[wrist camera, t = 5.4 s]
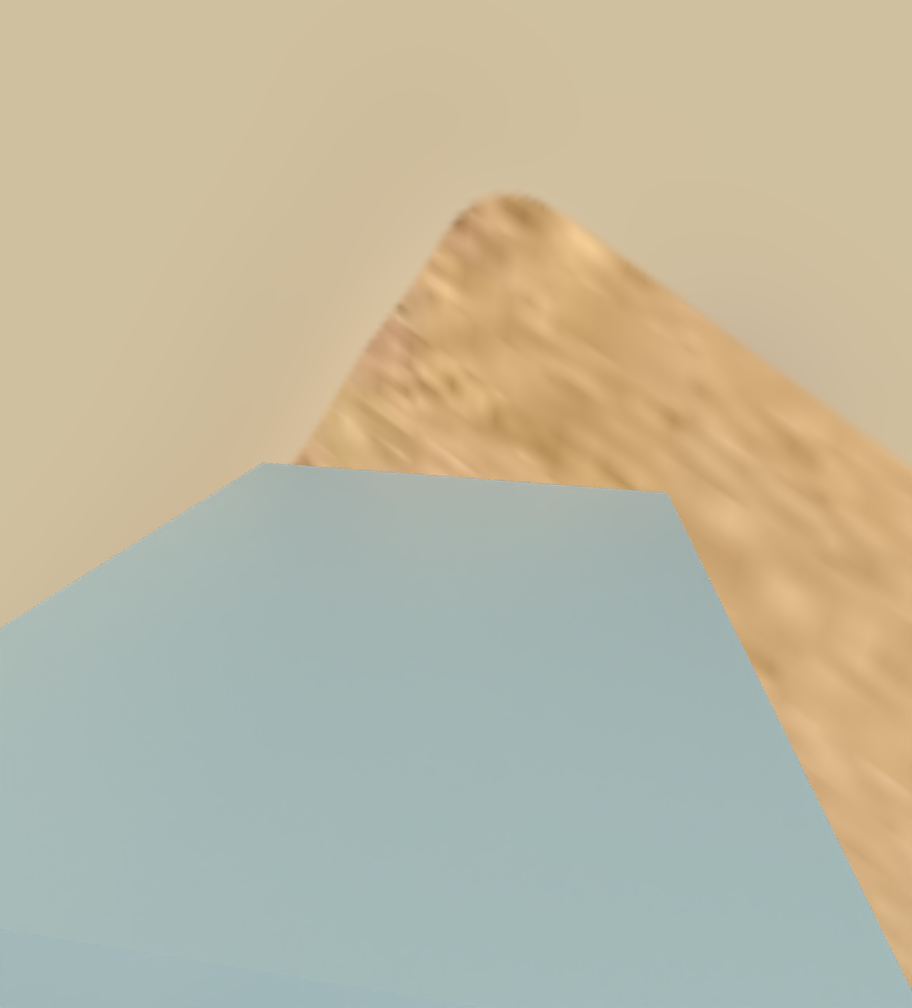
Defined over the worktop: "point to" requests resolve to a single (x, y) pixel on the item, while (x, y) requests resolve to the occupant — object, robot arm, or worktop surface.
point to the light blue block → (411, 767)
